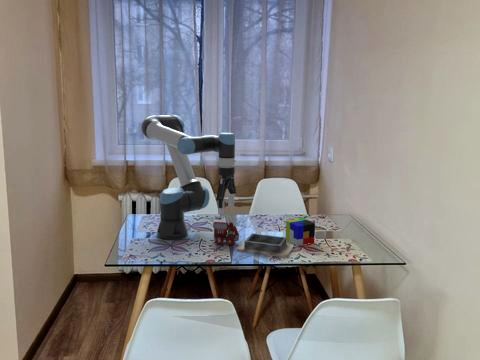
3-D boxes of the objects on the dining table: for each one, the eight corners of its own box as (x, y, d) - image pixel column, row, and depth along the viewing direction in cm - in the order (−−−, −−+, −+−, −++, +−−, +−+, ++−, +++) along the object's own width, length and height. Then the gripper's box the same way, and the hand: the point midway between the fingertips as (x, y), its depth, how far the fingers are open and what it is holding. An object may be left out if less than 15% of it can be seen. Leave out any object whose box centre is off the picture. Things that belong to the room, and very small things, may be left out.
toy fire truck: (237, 246, 210) (237, 225, 208) (211, 244, 211) (211, 223, 209) (239, 241, 217) (239, 220, 214) (214, 239, 218) (214, 219, 216)
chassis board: (236, 250, 205) (236, 241, 204) (245, 240, 218) (245, 231, 217) (287, 257, 197) (287, 247, 196) (294, 246, 210) (294, 237, 209)
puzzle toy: (297, 246, 211) (297, 226, 209) (285, 239, 220) (286, 220, 218) (314, 243, 216) (315, 223, 213) (302, 236, 224) (303, 217, 222)
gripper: (224, 171, 193) (224, 218, 198) (242, 162, 216) (242, 204, 221) (208, 170, 196) (208, 216, 200) (228, 161, 219) (227, 203, 223)
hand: (226, 210), depth 211 cm, fingers open, 13 cm apart
